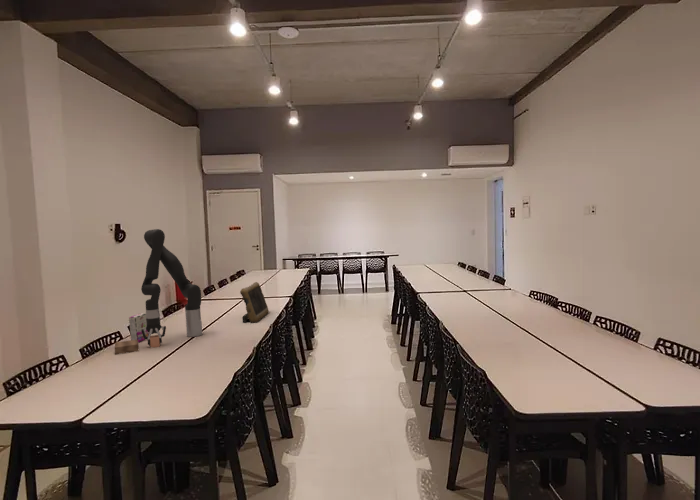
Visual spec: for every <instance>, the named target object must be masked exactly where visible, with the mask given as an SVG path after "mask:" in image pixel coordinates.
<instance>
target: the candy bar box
mask: <svg viewBox="0 0 700 500" xmlns="http://www.w3.org/2000/svg"><path fill="white" fill-rule="evenodd" d="M128 323H129V332H130V340H137V339H138V342H139V343H141V342H143V341H145V339H144V337H143V334H142V331H141V329H145V328H146V327H147V324H146V312H141V313H138V314H134V315H132V316H129V317H128ZM148 334H149V332H148V331H147V330H146V332H145V335H146V337H148Z"/></svg>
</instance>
